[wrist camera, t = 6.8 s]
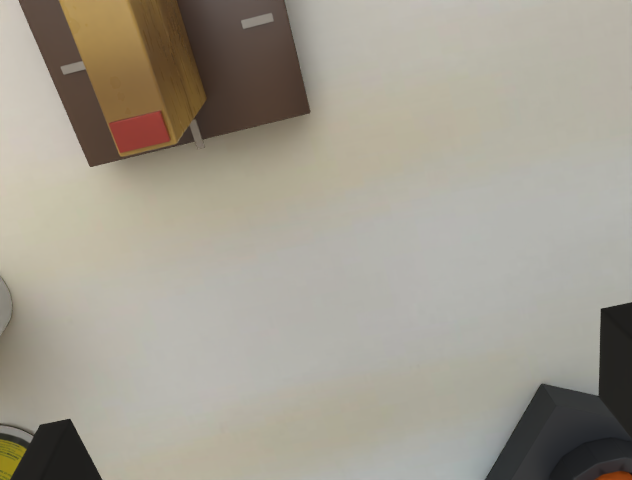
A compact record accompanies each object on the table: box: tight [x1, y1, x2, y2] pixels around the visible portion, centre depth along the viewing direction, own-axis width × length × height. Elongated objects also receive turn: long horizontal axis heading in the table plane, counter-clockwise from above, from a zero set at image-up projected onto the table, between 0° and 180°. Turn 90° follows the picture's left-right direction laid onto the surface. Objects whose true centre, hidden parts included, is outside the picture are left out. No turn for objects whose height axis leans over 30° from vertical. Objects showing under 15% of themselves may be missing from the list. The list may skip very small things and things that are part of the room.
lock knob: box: [59, 0, 207, 157], centre depth 20 cm, size 6×2×8 cm, turn 13°
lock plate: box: [19, 0, 310, 167], centre depth 25 cm, size 11×10×3 cm
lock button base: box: [486, 384, 632, 480], centre depth 39 cm, size 12×10×4 cm
